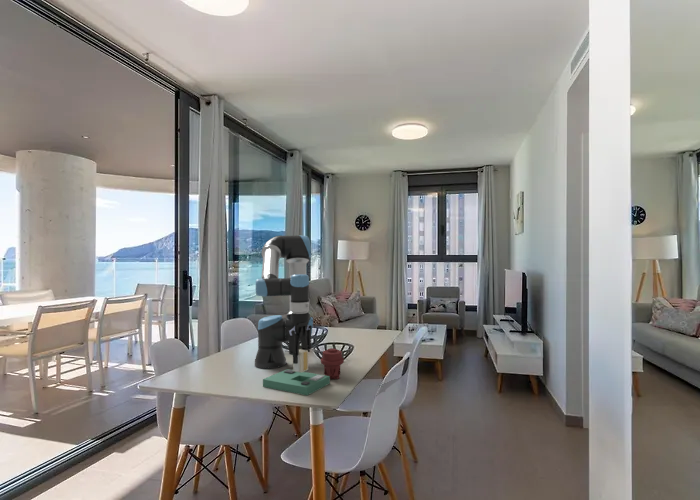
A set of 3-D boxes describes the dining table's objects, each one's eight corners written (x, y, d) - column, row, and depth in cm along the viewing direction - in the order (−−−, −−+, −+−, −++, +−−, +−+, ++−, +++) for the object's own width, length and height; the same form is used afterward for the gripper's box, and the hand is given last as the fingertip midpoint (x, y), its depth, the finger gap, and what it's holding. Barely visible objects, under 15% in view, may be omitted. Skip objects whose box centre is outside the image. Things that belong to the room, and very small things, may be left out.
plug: (293, 371, 161) (292, 351, 161) (299, 368, 165) (299, 349, 165) (302, 372, 159) (302, 352, 159) (309, 369, 163) (308, 350, 163)
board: (262, 386, 161) (262, 377, 161) (287, 375, 175) (287, 367, 175) (307, 395, 151) (307, 386, 151) (329, 383, 165) (329, 374, 165)
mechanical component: (320, 381, 167) (320, 374, 177) (344, 381, 168) (343, 373, 178) (320, 352, 167) (320, 346, 177) (344, 351, 168) (342, 346, 178)
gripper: (294, 315, 153) (294, 376, 153) (319, 310, 168) (319, 365, 168) (279, 314, 157) (279, 373, 156) (305, 309, 172) (305, 363, 172)
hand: (300, 369), depth 162 cm, fingers closed on plug, 4 cm apart
